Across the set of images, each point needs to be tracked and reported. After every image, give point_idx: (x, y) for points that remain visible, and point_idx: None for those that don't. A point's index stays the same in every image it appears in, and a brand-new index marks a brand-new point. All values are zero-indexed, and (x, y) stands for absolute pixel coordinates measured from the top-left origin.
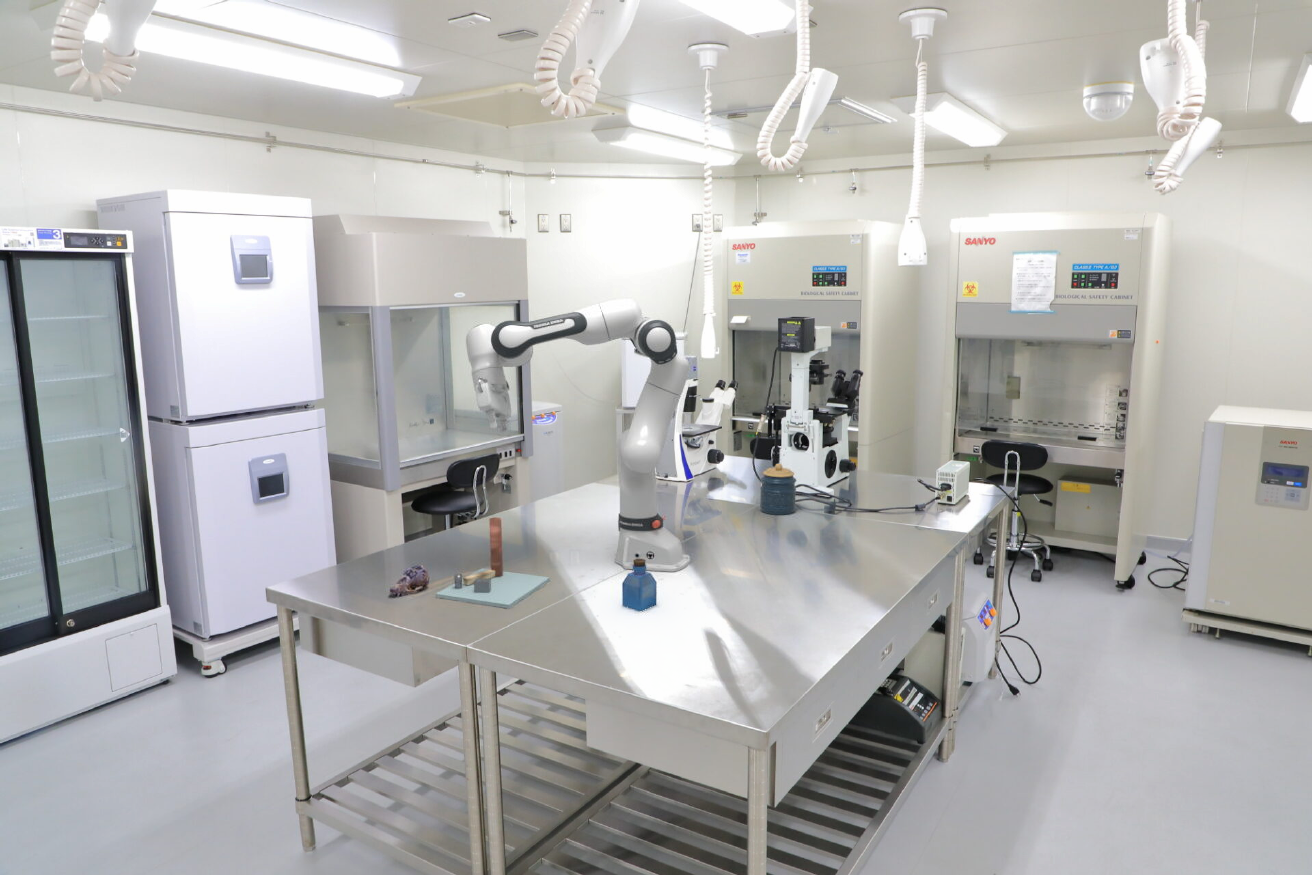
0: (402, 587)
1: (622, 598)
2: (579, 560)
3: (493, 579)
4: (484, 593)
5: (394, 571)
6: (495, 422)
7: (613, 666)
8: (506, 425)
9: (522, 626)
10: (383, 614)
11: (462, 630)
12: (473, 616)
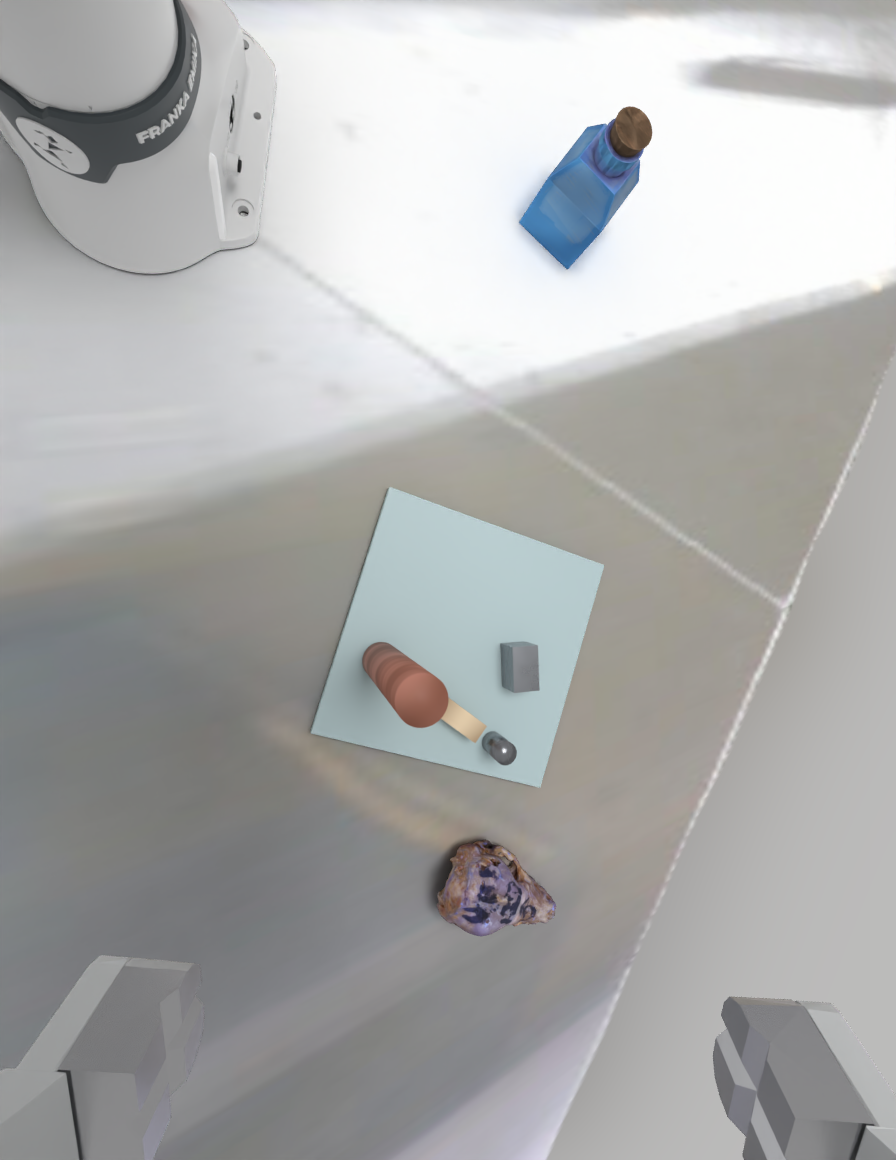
0: (535, 892)
1: (577, 257)
2: (158, 409)
3: (417, 660)
4: None
5: (326, 1015)
6: (889, 1089)
7: (849, 302)
8: (52, 1065)
9: (694, 510)
10: (647, 863)
11: (719, 641)
12: (648, 641)
